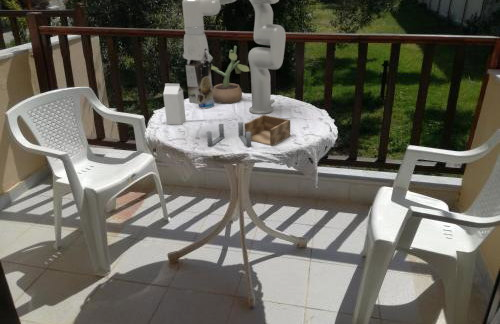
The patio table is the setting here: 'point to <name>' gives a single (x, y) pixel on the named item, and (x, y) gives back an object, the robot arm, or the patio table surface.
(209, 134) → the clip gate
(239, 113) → the patio table surface
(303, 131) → the patio table surface
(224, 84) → the potted plant
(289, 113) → the patio table surface
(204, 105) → the beverage bottle
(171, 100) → the milk carton
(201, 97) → the coffee box
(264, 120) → the wooden tray
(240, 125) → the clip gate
